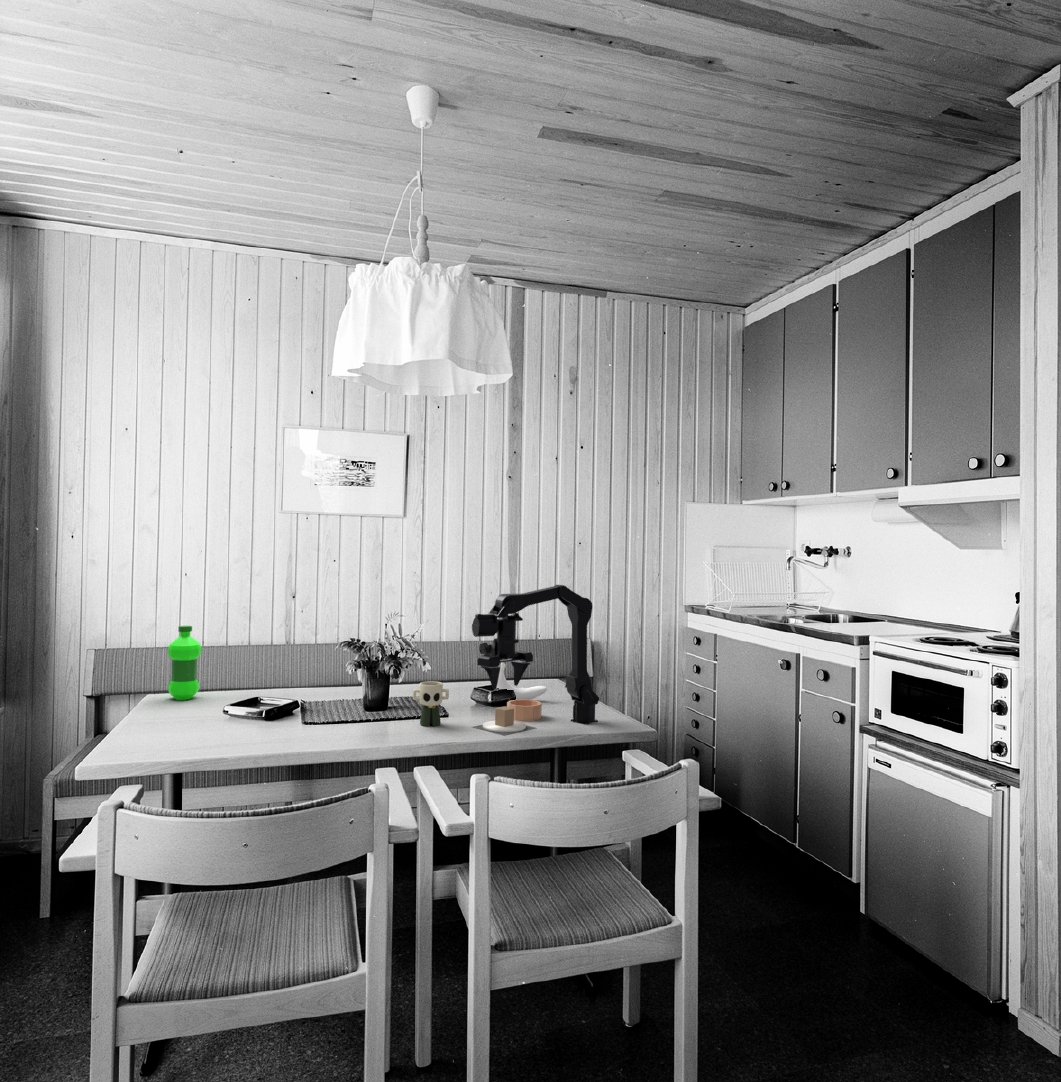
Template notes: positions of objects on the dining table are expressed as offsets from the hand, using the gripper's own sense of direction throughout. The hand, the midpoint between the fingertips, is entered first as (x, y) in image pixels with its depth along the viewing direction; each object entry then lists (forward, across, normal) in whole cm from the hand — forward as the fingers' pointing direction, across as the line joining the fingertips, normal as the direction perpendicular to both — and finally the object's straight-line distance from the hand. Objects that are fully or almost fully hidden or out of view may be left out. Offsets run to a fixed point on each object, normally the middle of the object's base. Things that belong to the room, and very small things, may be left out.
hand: (505, 687), depth 235 cm
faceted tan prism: (+13, -15, -6) cm, 20 cm away
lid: (+12, 0, 0) cm, 12 cm away
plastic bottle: (+13, +52, -105) cm, 118 cm away
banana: (+13, -34, -26) cm, 45 cm away
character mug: (+13, +14, -18) cm, 26 cm away
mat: (+13, 0, 0) cm, 13 cm away
